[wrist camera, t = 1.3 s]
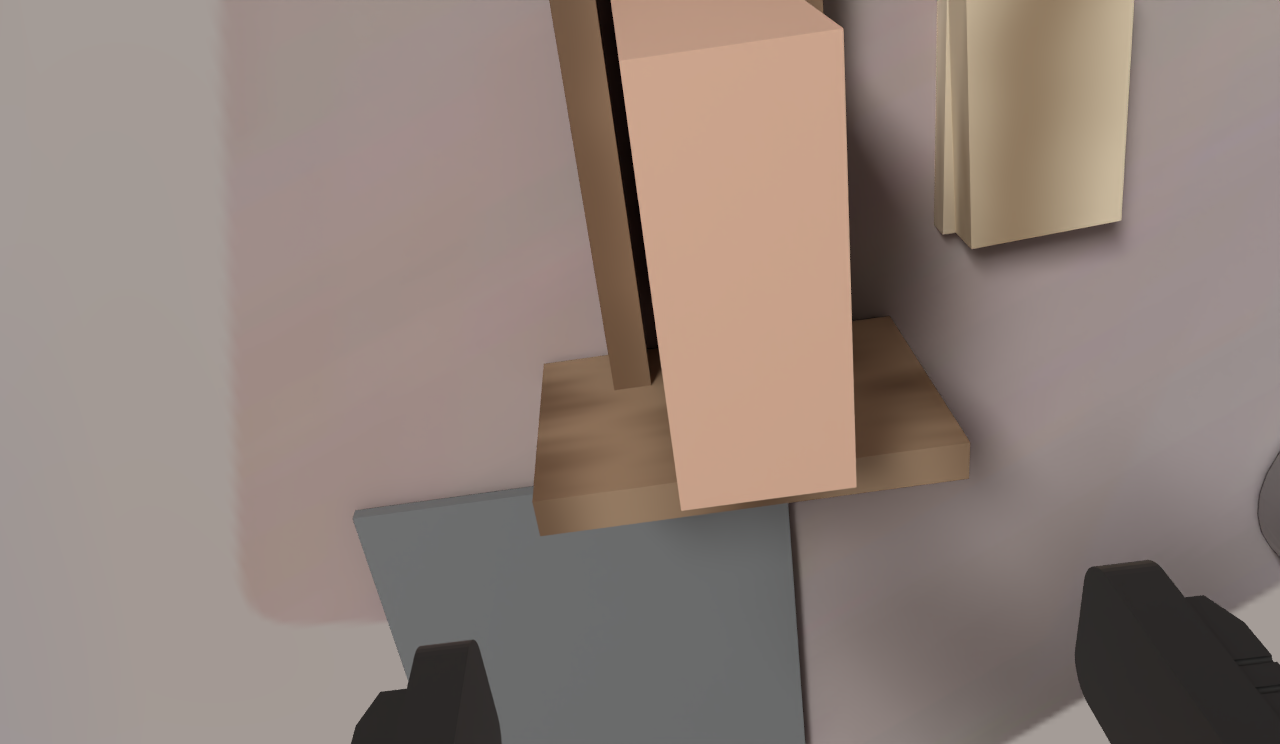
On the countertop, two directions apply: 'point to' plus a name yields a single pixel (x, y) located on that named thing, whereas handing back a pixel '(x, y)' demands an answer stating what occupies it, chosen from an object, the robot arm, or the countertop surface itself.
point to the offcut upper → (1038, 115)
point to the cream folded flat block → (943, 128)
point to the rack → (632, 376)
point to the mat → (601, 617)
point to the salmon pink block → (745, 239)
